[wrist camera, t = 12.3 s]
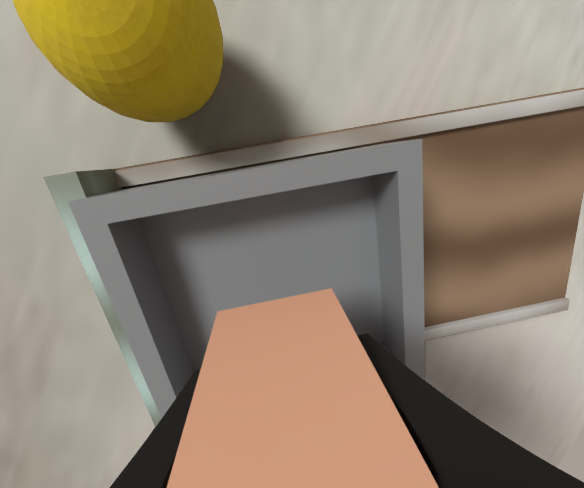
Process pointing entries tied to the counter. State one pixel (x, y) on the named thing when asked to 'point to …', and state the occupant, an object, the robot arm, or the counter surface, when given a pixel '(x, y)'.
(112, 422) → the counter surface
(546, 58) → the counter surface
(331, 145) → the track
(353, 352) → the block
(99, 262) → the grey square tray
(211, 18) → the lemon
